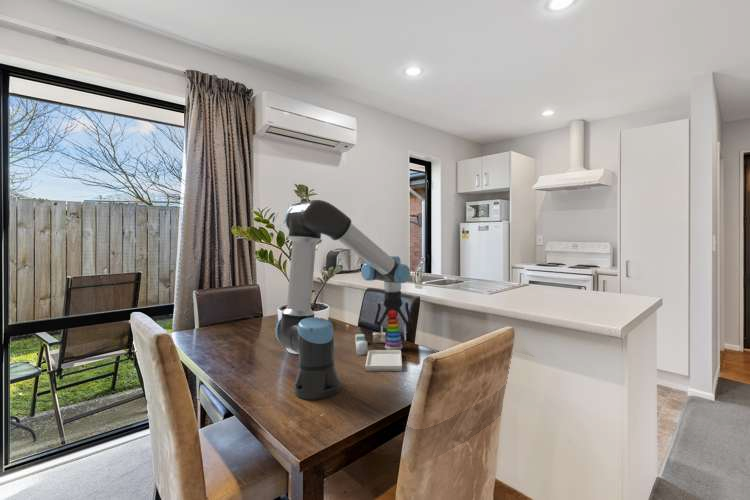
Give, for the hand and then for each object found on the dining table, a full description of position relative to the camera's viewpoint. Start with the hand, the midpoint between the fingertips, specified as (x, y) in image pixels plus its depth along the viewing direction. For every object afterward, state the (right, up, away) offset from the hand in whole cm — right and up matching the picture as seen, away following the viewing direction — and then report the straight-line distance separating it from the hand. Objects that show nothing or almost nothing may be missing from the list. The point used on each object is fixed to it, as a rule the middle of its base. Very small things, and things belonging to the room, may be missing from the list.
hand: (393, 339), depth 160 cm
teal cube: (-15, -4, +9) cm, 18 cm away
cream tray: (-5, -5, -17) cm, 18 cm away
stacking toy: (0, -4, 0) cm, 4 cm away
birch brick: (-6, -4, +11) cm, 14 cm away
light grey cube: (-14, -5, -5) cm, 16 cm away
